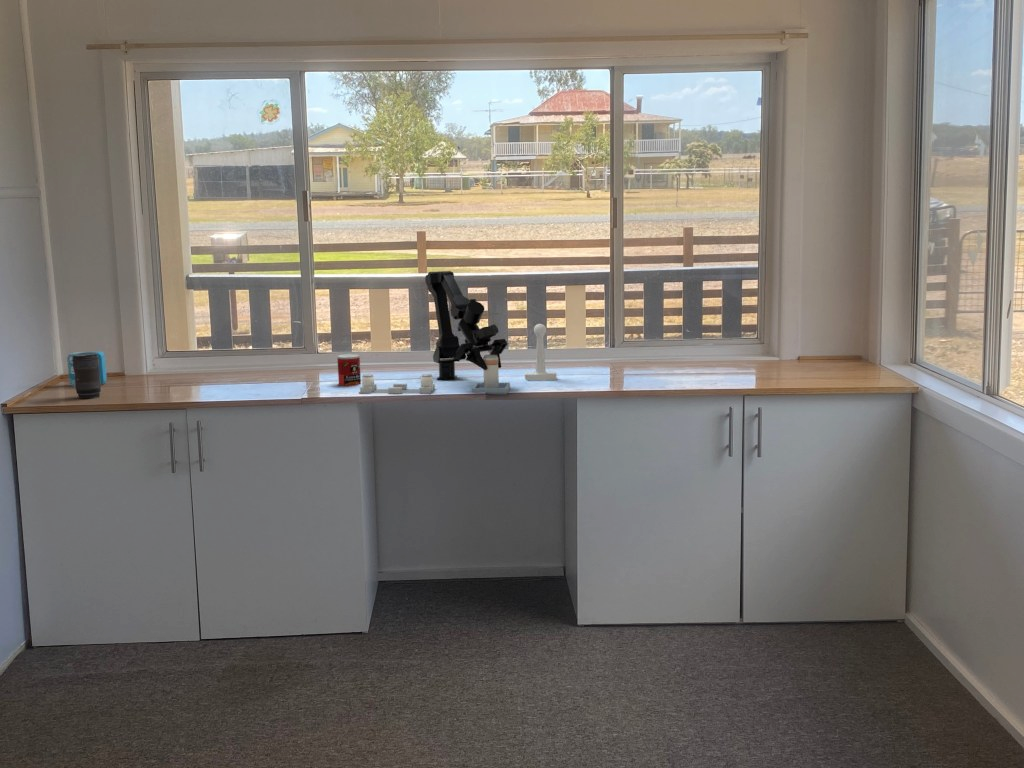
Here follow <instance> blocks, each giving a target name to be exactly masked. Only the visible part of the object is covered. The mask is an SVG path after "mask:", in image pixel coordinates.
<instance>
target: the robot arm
mask: <svg viewBox="0 0 1024 768" xmlns="http://www.w3.org/2000/svg"><path fill="white" fill-rule="evenodd" d="M424 281H425V284H426V287H427V290H428V292H429V293H430V294H431V295H432V298H433V301H434V302H433V303H434V307H435V316H436V321H437V329H438V338H437V341H436V343H435V344H436V347H435V349H434V353H433V354H432V359H433V360H432V361H433V362H434V363H437V364H438V374H439V376H437V377H436V379H446V380H456V379H457V377H458V375H456V369H455V368H456V367H455V363H456V362H460V361H462V360H466V361H467V362H471V363H472V364H474V365H476V366H478V367H479V368H481V369H482V370H483V369H484V370H487V366H486V364H485V362H484V360H483V357H482V355H481V353H483V352H488V354H489V355H497V357H498V362H499V364H498V369H501V368H502V362H501V357H500V356H501V354H502V353H503V352H504V350H505V349H506V347H507V346H508V345H509V344H508V342H507V340H506V339H505V338H498V339H497V338H496V339H494V340H493V342H491V341H492V339H491V338H492V337H495V336H497V334H498V333H499V329H498V328H499V327H497V325H496V324H495V323H493V324H491V325H489V326H483V327H481V328H480V326H479V325H478V324H479V323H480V321H481V319H482V316H483V314H484V312H485V306H484V305H483V304H482V303H481V302H479V301H477V299H476V298H471V299H469V298H468V297H466V296H464V295H463V293H462V291H461V289H460V287H459V285H458V283H457V281H456V279H455V274H454V272H453V271H450V270H443V271H442V270H439V271H428V273H427V274H425V279H424ZM448 300H449V302H450V307H449V302H448ZM449 308H450V309H449ZM450 315H451V316H450ZM451 317H452V318H453V319H454V320H455V321H456V320H460V321H459V322H458V324H457V325H458V326H457V332H461V333H462V334H463V336H464V338H465V340H464V343H461V344H460V341H459V337H458V336H457V335H456V336H455V334H454V333H453V328H452V323H451V322H452V321H451ZM490 342H491V344H490ZM455 378H456V379H455Z"/></svg>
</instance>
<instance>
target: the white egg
mask: <svg viewBox="0 0 1024 768" xmlns="http://www.w3.org/2000/svg"><path fill="white" fill-rule="evenodd" d="M374 384H375V376H374V374H371V373H367V374H366V373H365V374H362V375H361V385H362V386H361V387H372V392H374V391H375V388H374Z"/></svg>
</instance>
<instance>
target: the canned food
mask: <svg viewBox="0 0 1024 768" xmlns="http://www.w3.org/2000/svg"><path fill="white" fill-rule="evenodd" d="M337 374H338V375H337V376H338V385H339V386H341V387H343V386H344V387H352V386H353V387H354V386H359V385H362V375H361V358H360V354H353V353H346V354H345V353H344V354H340V355H337Z"/></svg>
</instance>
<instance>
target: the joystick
mask: <svg viewBox="0 0 1024 768" xmlns="http://www.w3.org/2000/svg"><path fill="white" fill-rule="evenodd" d="M533 332H534V335H535V336H536V354H535V371H534V372H525V373H524V380H546V381H555V380H554V379H556V380H557V372H556V371H552V372H551V371H549V372H546V371H547V370H546V357H545V344H544V343H545V342H544V337H545V335H546V333H547V328H546V325H544V324H542V323H537V324H535V326H534V327H533Z"/></svg>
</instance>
